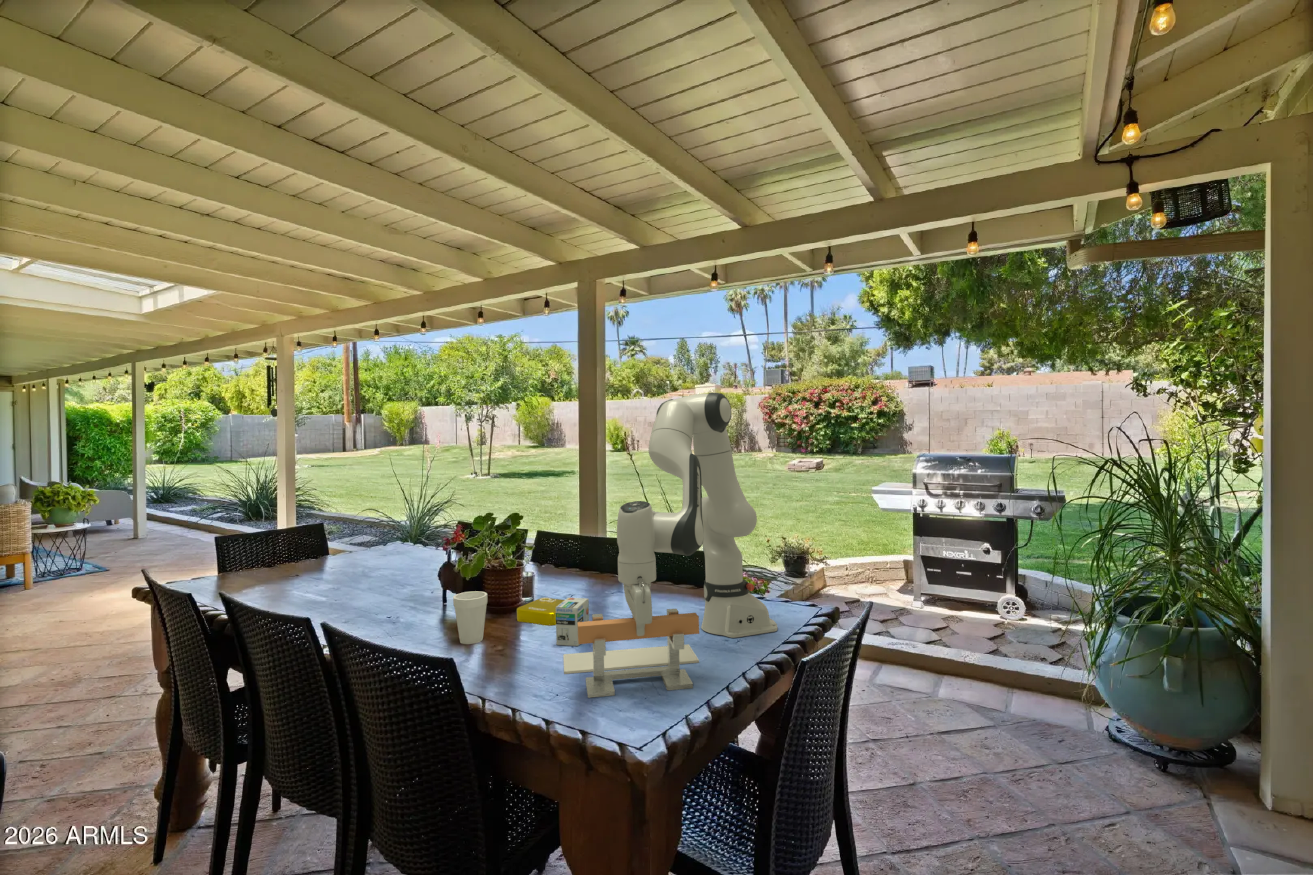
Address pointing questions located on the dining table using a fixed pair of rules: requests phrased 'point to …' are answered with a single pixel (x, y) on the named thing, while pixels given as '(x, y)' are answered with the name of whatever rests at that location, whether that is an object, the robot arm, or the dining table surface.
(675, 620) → the rail
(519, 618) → the element tile
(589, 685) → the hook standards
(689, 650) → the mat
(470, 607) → the foam cup
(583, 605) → the light bulb box
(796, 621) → the dining table surface
